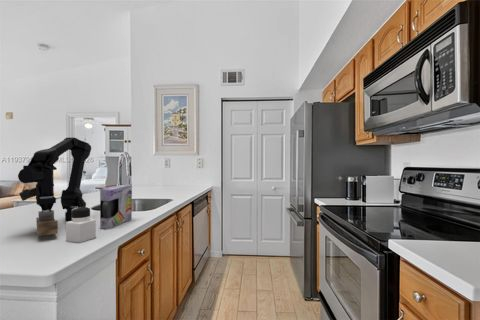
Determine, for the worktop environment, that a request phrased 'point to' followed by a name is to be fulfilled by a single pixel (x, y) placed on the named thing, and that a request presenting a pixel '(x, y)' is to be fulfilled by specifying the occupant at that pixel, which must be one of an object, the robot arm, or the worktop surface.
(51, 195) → the robot arm
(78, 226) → the medicine bottle
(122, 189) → the cake pan box
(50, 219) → the grey block
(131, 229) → the worktop surface
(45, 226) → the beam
